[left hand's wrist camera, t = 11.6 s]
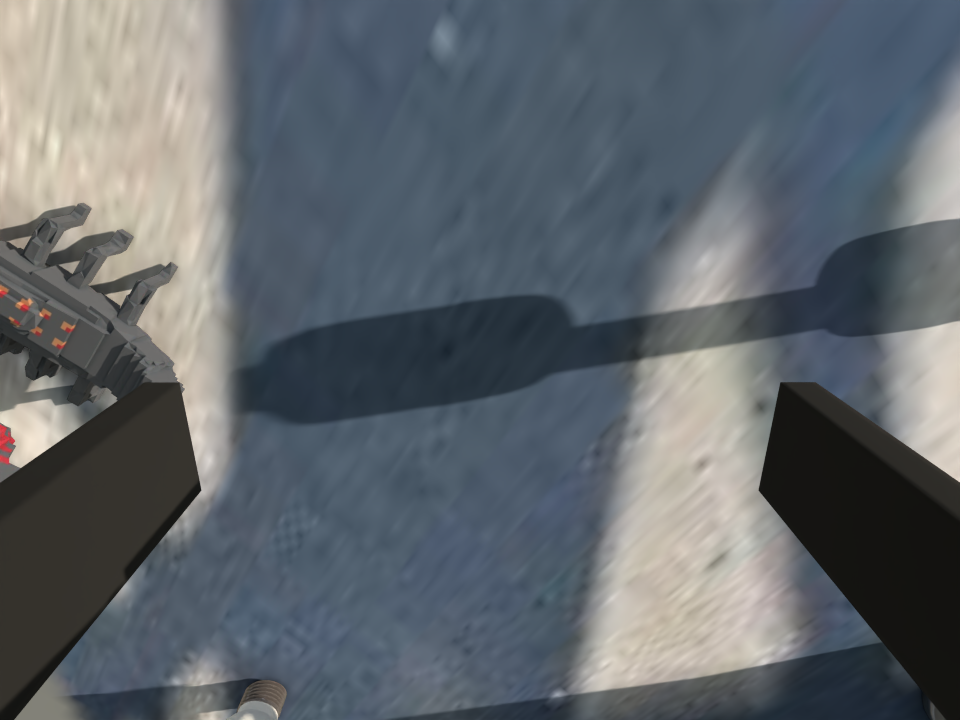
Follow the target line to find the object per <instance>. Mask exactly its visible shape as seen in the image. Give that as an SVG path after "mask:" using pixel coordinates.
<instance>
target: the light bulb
mask: <svg viewBox="0 0 960 720" xmlns="http://www.w3.org/2000/svg"><path fill="white" fill-rule="evenodd" d="M286 695H287V693H286V690H285V688H284V687H283V686H282V685H281V684H279V683H277V682H274V681H270V680H262V681H257V682H254V683H252V684H251V685H249V686H248V687H247V689H246V690H245V693H244V695H243V697H242V700H241V702H240V704H239V707H238V709H237V713H236V714H234V715H232V716H231V717H229V718H228V719H226V720H277V719H278V717H279V716H280V713H281V709H282V707H283V704H284V701H285V698H286Z"/></svg>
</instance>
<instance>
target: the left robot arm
mask: <svg viewBox="0 0 960 720" xmlns="http://www.w3.org/2000/svg"><path fill="white" fill-rule="evenodd" d="M200 491H201V486H200V481H199V476H198V471H197V466H196V461H195V456H194V451H193V446H192V442H191V437H190V432H189V427H188V422H187V417H186V412H185V407H184V402H183V397H182V392H181V387H180V382H144V383H143V384H141V385H140V386H139V387H137V388H136V389H134V390H133V391H131V392H130V393H128V394H127V395H126V396H124V397H123V398H121V399H120V400H118V401H117V402H115V403H114V404H113V405H111V406H110V407H108V408H107V409H105V410H104V411H103V412H101V413H100V414H98V415H97V416H95V417H94V418H92V419H91V420H90V421H88V422H87V423H85V424H84V425H82V426H81V427H79V428H78V429H77V430H75V431H74V432H72V433H71V434H69V435H68V436H67V437H65V438H64V439H62V440H61V441H59V442H58V443H56V444H55V445H54V446H52V447H51V448H49V449H48V450H46V451H45V452H44V453H42V454H41V455H39V456H38V457H36V458H35V459H33V460H32V461H31V462H29V463H28V464H26V465H25V466H23V467H22V468H20V469H19V470H18V471H16V472H15V473H13V474H12V475H10V476H9V477H8V478H6V479H5V480H3V481H2V482H0V720H14V719H15V718H16V717H17V715H18V714H19V713H20V712H21V711H22V709H23V708H24V707H25V706H26V704H27V703H28V702H29V701H30V700H31V698H32V697H33V696H34V695H35V693H36V692H37V691H38V690H39V689H40V687H41V686H42V685H43V684H44V682H45V681H46V680H47V679H48V678H49V676H50V675H51V674H52V673H53V671H54V670H55V669H56V668H57V667H58V665H59V664H60V663H61V662H62V660H63V659H64V658H65V657H66V656H67V654H68V653H69V652H70V651H71V649H72V648H73V647H74V646H75V645H76V643H77V642H78V641H79V640H80V638H81V637H82V636H83V635H84V633H85V632H86V631H87V630H88V629H89V627H90V626H91V625H92V624H93V622H94V621H95V620H96V619H97V618H98V616H99V615H100V614H101V613H102V611H103V610H104V609H105V608H106V607H107V605H108V604H109V603H110V602H111V600H112V599H113V598H114V597H115V596H116V594H117V593H118V592H119V591H120V589H121V588H122V587H123V586H124V585H125V583H126V582H127V581H128V580H129V578H130V577H131V576H132V575H133V574H134V572H135V571H136V570H137V569H138V567H139V566H140V565H141V564H142V562H143V561H144V560H145V559H146V558H147V556H148V555H149V554H150V553H151V551H152V550H153V549H154V548H155V547H156V545H157V544H158V543H159V542H160V540H161V539H162V538H163V537H164V536H165V534H166V533H167V532H168V531H169V529H170V528H171V527H172V526H173V525H174V523H175V522H176V521H177V520H178V518H179V517H180V516H181V515H182V514H183V512H184V511H185V510H186V509H187V507H188V506H189V505H190V504H191V502H192V501H193V500H194V499H195V498H196V496H197V495H198V494H199V493H200ZM759 491H760V493H761V494H762V495H763V496H764V498H765V499H766V500H767V501H768V502H769V504H770V505H771V506H772V507H773V509H774V510H775V511H776V512H777V514H778V515H779V516H780V517H781V518H782V520H783V521H784V522H785V523H786V525H787V526H788V527H789V528H790V529H791V531H792V532H793V533H794V534H795V536H796V537H797V538H798V539H799V540H800V542H801V543H802V544H803V545H804V547H805V548H806V549H807V550H808V551H809V553H810V554H811V555H812V556H813V558H814V559H815V560H816V561H817V562H818V564H819V565H820V566H821V567H822V569H823V570H824V571H825V572H826V574H827V575H828V576H829V577H830V578H831V580H832V581H833V582H834V583H835V585H836V586H837V587H838V588H839V589H840V591H841V592H842V593H843V594H844V596H845V597H846V598H847V599H848V600H849V602H850V603H851V604H852V605H853V607H854V608H855V609H856V610H857V611H858V613H859V614H860V615H861V616H862V618H863V619H864V620H865V621H866V622H867V624H868V625H869V626H870V627H871V629H872V630H873V631H874V632H875V633H876V635H877V636H878V637H879V638H880V640H881V641H882V642H883V643H884V645H885V646H886V647H887V648H888V649H889V651H890V652H891V653H892V654H893V656H894V657H895V658H896V659H897V660H898V662H899V663H900V664H901V665H902V667H903V668H904V669H905V670H906V671H907V673H908V674H909V675H910V676H911V678H912V679H913V680H914V681H915V682H916V684H917V685H918V686H919V687H920V689H921V690H922V691H923V692H924V693H925V695H926V696H927V697H928V698H929V700H930V701H931V702H932V703H933V705H934V706H935V707H936V708H937V709H938V711H939V712H940V713H941V714H942V716H943V717H944V718H945V719H946V720H960V482H958V481H957V480H955V479H954V478H952V477H951V476H950V475H948V474H947V473H945V472H944V471H942V470H941V469H940V468H938V467H937V466H935V465H934V464H932V463H931V462H929V461H928V460H927V459H925V458H924V457H922V456H921V455H919V454H918V453H916V452H915V451H914V450H912V449H911V448H909V447H908V446H906V445H905V444H904V443H902V442H901V441H899V440H898V439H896V438H895V437H893V436H892V435H891V434H889V433H888V432H886V431H885V430H883V429H882V428H881V427H879V426H878V425H876V424H875V423H873V422H872V421H870V420H869V419H868V418H866V417H865V416H863V415H862V414H860V413H859V412H857V411H856V410H855V409H853V408H852V407H850V406H849V405H847V404H846V403H845V402H843V401H842V400H840V399H839V398H837V397H836V396H834V395H833V394H832V393H830V392H829V391H827V390H826V389H824V388H823V387H821V386H820V385H819V384H817V383H816V382H780V387H779V392H778V397H777V402H776V407H775V412H774V417H773V422H772V427H771V432H770V437H769V442H768V446H767V451H766V456H765V461H764V466H763V471H762V476H761V481H760V486H759Z"/></svg>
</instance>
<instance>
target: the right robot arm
mask: <svg viewBox="0 0 960 720" xmlns="http://www.w3.org/2000/svg"><path fill="white" fill-rule="evenodd" d="M922 699H923V706H924V709H925V712H926V714H927V715H928V717H929V718H930V720H946V719H945V718H944V717H943V716H942V714H941V713H940V712H939V711H938V709H937V708H936V707H935V706H934V705H933V703H932V702H931V701H930V700H929V698H928V697H927V696H926V695H925V693H924V692H923V696H922Z"/></svg>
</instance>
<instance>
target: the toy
mask: <svg viewBox="0 0 960 720" xmlns="http://www.w3.org/2000/svg"><path fill="white" fill-rule="evenodd" d="M91 209H92V208H90V207H89V206H87V205H86V204H84V203H80V204H78V205H77V206H76V208H75V209H74V211H73V212H72V213H71V214H70V215H65V216H60V217H55V218H49V219H42V221H41V222H40V224H39V225H38V227H37V228H36V230H35V231H34V233H33V235H32V237H31V238H30V240H29V242H28V243H27V245H26V247H25V249H24V250H23V249H21V248H17V247H15V246H14V245H12V244H11V243H9V242H5V241H0V355H2V354H4V353H6V352H12V353H13V354H18V353H21V352H22V349H23V347H24V346H26V347H27V348H29V349H31V351H30V352H29V360H28V362H27V364H26V366H25V371H26V376H27V377H28V378H30V379H32V380H33V381H34V380H36V379H38V378H40V377H42V376H44V375H47V376H49V377H50V378H51V377H53V376H55V375H57V374H58V372H59V370H60V368H61V366H63V367H65V368H66V369H68V370H70V371H71V372H73V373H75V374H77V375H78V376H79V377H78V378H77V380H76V382H75V384H74V386H73V388H72V390H71V392H70V394H69V396H68V398H67V400H68V401H70V402H72V403H73V404H75V405H77V406H79V405H81V404H82V403H84V402H85V401H86V400H89V401H91V402H92V403H94V402H96V401H97V400H99V399H100V397H101V395H102V394H103V392H104V390H105V388H106V387H107V388H108V389H110V390H111V391H112V394H113V395H114V396H116V397H117V400H120V399H121V398H123V397H124V396H126V395H127V394H128V393H130V392H131V391H133V390H134V389H136V388H137V387H139V386H140V385H141V384H143V383H144V382H178V381H176V380H177V379H178V378H176V377H175V375H176V374H175V373H174V372H173V369H172V367H173V365H174V362H173V361H172V360H171V359H170V358H169V357H168V356H167V355H166V354H165V353H163V352H162V351H161V350H160V349H159V348H158V347H157V346H156V345H155V344H154V343H152V341H151V338H150V337H149V336H148V335H147V334H146V333H145V332H144V331H143V330H142V329H141V328H139V327H138V326H137V325H136V324H137V322H138V320H139V318H140V316H141V314H142V312H143V310H144V308H145V306H146V305H147V303H148V302H149V300H150V299H151V298H152V296H153V295H154V293H155V292H156V290H157V288H159V287H160V286H162V285H164V284H167V283H169V281H170V280H171V278H172V276H173V275H174V273H175V271H176V270H177V268H178V266H176V265H175V264H173V263H172V262H170V263H169V264H168V265H167V266H166V267H165V268H164V269H163V270H162V271H161V272H160V273H159V274H157V275H155V276H153V277H150V278H148V279H145V280H143V279H140V280H138V281H137V282H136V284H135V285H134V287H133V289H132V291H131V293H130V294H129V295H127V296H126V298H125V300H124V302H123V304H122V306H121V308H120V305H118V304H117V303H115V302H114V301H112V300H111V299H110V298H108V297H107V296H105V295H104V294H102V293H97V292H96V291H95V290H93V289H92V288H91V287H90V286H89V285H88V284H89V283H90V282H91V281H92V280H93V278H94V276H95V275H96V273H97V272H98V270H99V269H100V267H101V266H102V264H103V263H104V261H105V260H106V258H107V257H108V256H111V255H116V254H120V253H122V252H124V251H125V250H127V248H128V246H129V244H130V243H131V241H132V239H133V236H132V235H130V234H129V233H127V232H126V231H124V230H123V229H121V230H117V232H116V233H115V234H114V236H113V237H112V238H111V239H110V241H108V242H107V243H105V244H104V245H100V246H97V247H93V248H91V249H89V250H88V251H86V252H85V253H84V255H83V257H82V259H81V261H80V262H79V264H78V266H77V268H76V269H75V271H74V273H73V274H71V273H70V272H68V271H67V270H65V269H64V268H62V267H61V266H59V265H56V266H52V267H51V266H49V265H48V264H46V260H47V258H48V256H49V254H50V252H51V250H52V249H53V248H54V246H55V245H56V244H57V242H58V240H59V239H60V237H61V236H62V234H63V232H64V231H66V230H68V229H70V228H73V227H77V226H81V225H83V224H84V222H85V220H86V218H87V216H88V214H89V212H90V210H91ZM182 386H183V384H181V383H180V387H181V392H183V391H184V388H183V387H182ZM14 442H15V440H14V439H13V438H12V437H11V428H9V427H6V426H4V425H3V424H1V423H0V482H2V481H3V480H5V479H6V478H8V477H9V476H10V475H12V474H13V473H15V472H16V471H18V470H19V469H20V468H19V467H17V466H15V465H12V464H10V463H9V457H10V455H11V454H12V452H13V450H14V449H15V447H16V446H15V445H13V443H14Z"/></svg>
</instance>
